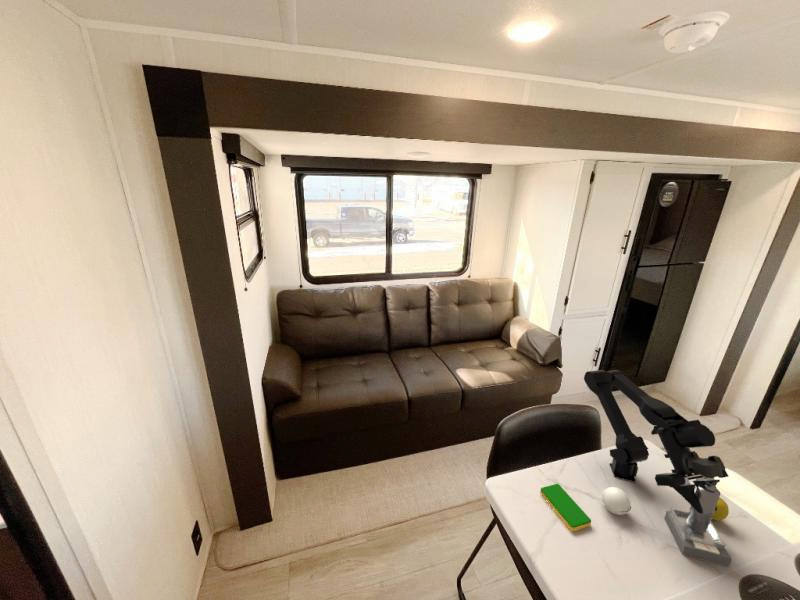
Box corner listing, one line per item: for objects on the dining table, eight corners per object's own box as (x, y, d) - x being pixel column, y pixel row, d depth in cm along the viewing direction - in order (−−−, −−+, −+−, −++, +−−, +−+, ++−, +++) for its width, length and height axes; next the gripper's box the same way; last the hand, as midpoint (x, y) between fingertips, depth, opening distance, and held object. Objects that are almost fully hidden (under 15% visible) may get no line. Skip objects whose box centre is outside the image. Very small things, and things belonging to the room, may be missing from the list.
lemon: (729, 528, 93) (737, 507, 91) (707, 524, 94) (715, 503, 92) (715, 511, 98) (722, 491, 96) (694, 508, 99) (701, 488, 97)
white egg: (613, 523, 94) (618, 504, 92) (594, 501, 101) (598, 483, 99) (641, 517, 96) (646, 498, 94) (620, 496, 103) (625, 478, 101)
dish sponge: (557, 488, 107) (558, 483, 106) (590, 526, 94) (592, 520, 93) (539, 493, 105) (540, 487, 104) (571, 533, 92) (572, 526, 91)
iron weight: (687, 527, 88) (701, 487, 84) (684, 515, 92) (697, 476, 88) (708, 536, 86) (723, 495, 82) (704, 523, 90) (719, 483, 86)
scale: (682, 554, 86) (686, 541, 85) (664, 518, 96) (667, 506, 95) (728, 567, 83) (733, 553, 81) (704, 528, 93) (709, 515, 92)
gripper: (675, 451, 84) (709, 521, 77) (730, 442, 88) (768, 508, 80) (642, 453, 94) (669, 516, 87) (693, 445, 97) (723, 505, 90)
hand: (708, 511), depth 86 cm, fingers closed on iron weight, 4 cm apart
